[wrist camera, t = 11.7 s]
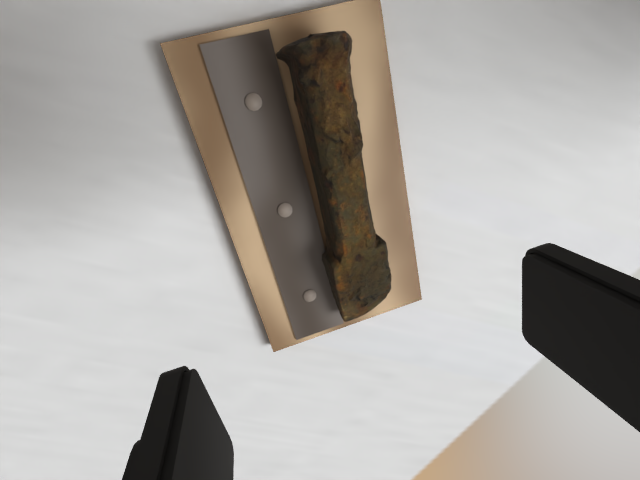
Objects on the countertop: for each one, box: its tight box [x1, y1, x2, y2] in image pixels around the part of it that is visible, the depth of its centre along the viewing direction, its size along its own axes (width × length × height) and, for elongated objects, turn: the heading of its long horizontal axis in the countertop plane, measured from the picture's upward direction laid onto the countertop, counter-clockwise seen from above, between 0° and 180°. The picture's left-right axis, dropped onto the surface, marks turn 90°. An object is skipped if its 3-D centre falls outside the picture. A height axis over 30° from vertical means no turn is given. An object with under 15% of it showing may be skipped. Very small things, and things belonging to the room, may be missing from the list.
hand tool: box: [276, 31, 391, 322], centre depth 22 cm, size 19×4×5 cm
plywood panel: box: [160, 0, 422, 352], centre depth 24 cm, size 13×22×1 cm, turn 14°
